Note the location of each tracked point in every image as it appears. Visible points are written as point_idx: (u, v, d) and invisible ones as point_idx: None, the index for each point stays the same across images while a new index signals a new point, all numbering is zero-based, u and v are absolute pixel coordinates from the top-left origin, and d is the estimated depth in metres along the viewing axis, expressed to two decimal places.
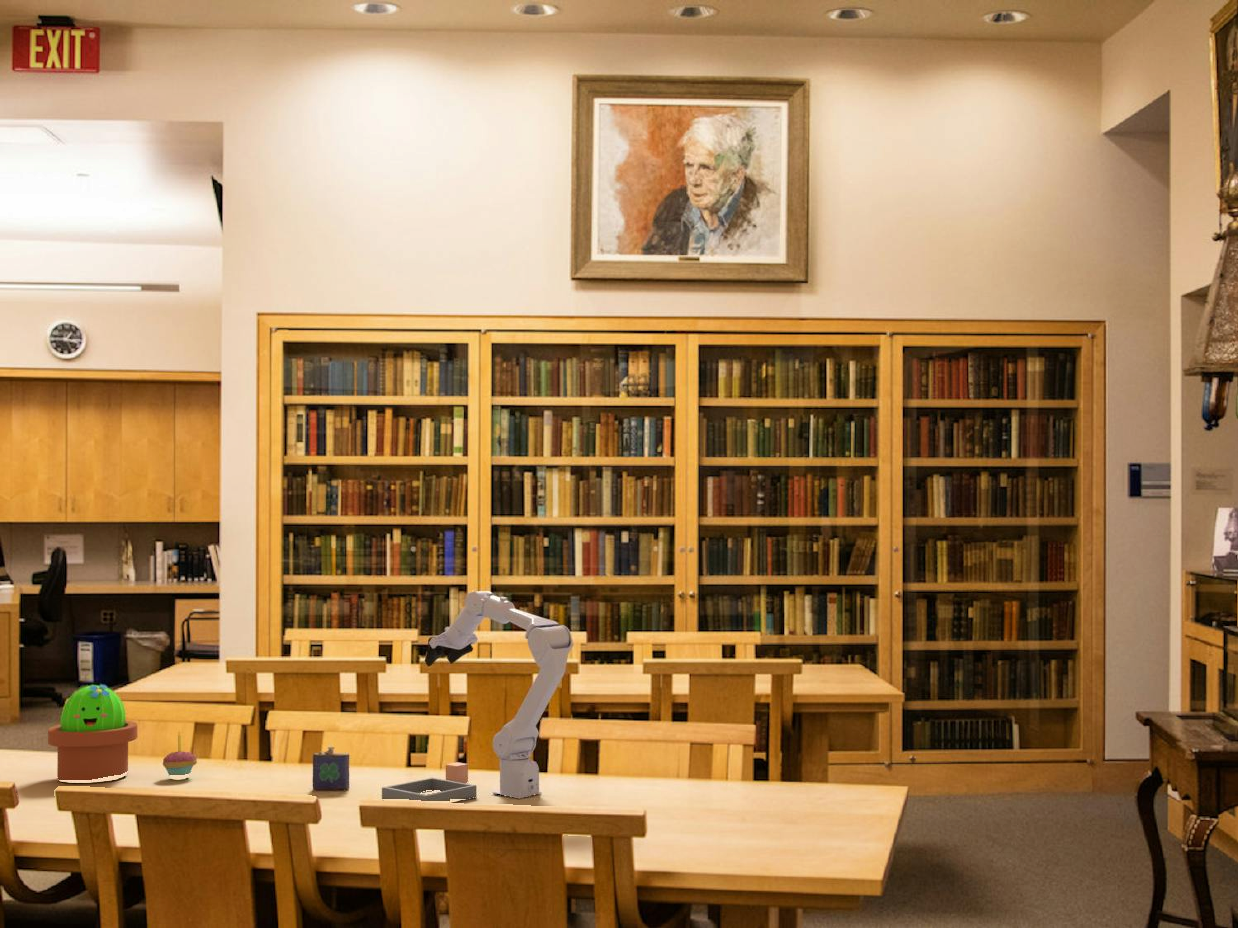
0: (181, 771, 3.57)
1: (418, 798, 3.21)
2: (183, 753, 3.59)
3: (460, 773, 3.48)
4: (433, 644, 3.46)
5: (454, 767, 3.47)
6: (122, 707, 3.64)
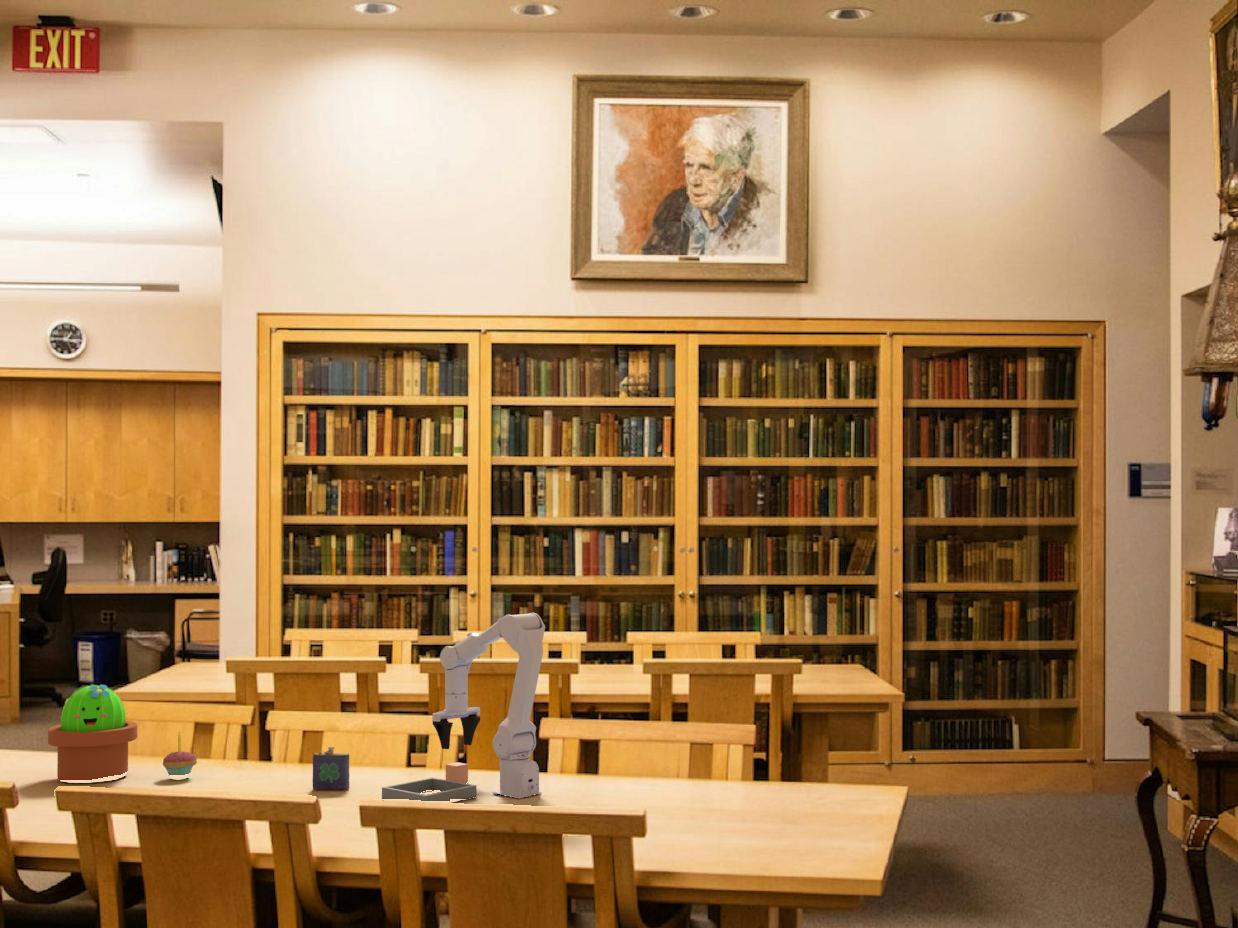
0: (181, 771, 3.57)
1: (418, 798, 3.21)
2: (183, 753, 3.59)
3: (460, 773, 3.48)
4: (436, 717, 3.45)
5: (454, 767, 3.47)
6: (122, 707, 3.64)
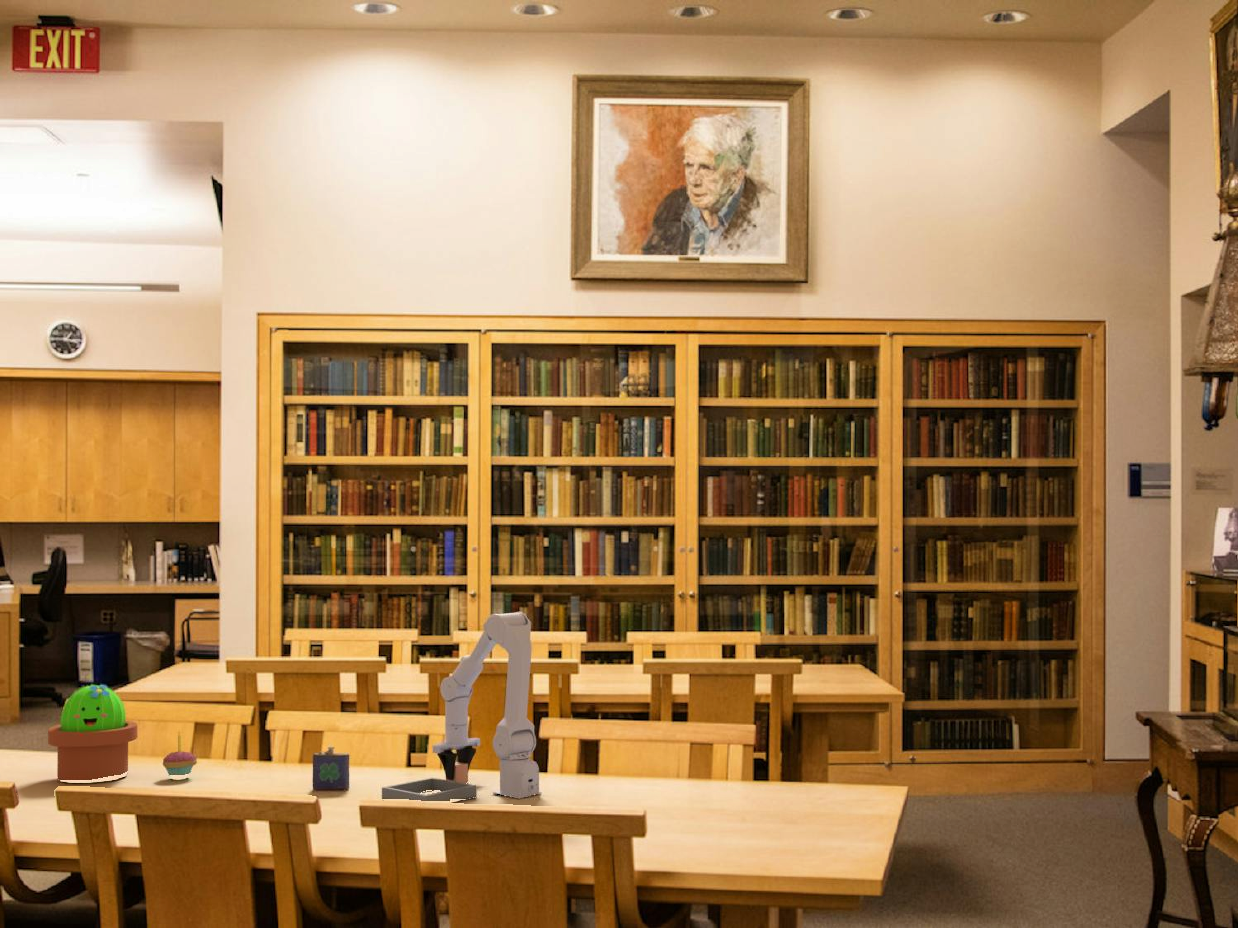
0: (181, 771, 3.57)
1: (418, 798, 3.21)
2: (183, 753, 3.59)
3: (460, 773, 3.48)
4: (436, 748, 3.44)
5: None
6: (122, 707, 3.64)
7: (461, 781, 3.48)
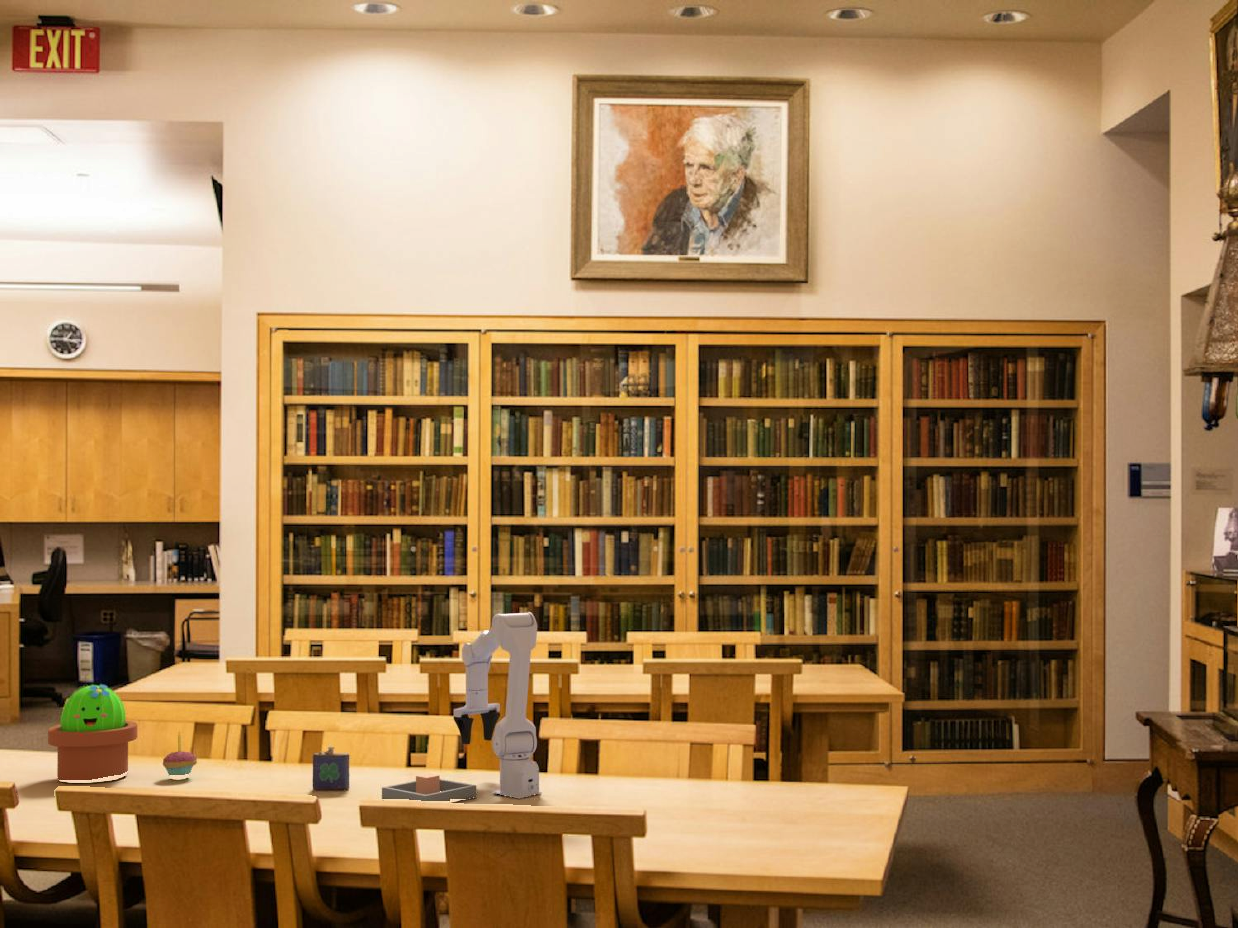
0: (181, 771, 3.57)
1: (418, 798, 3.21)
2: (183, 753, 3.59)
3: (431, 785, 3.30)
4: (457, 712, 3.51)
5: (425, 779, 3.29)
6: (122, 707, 3.64)
7: None
